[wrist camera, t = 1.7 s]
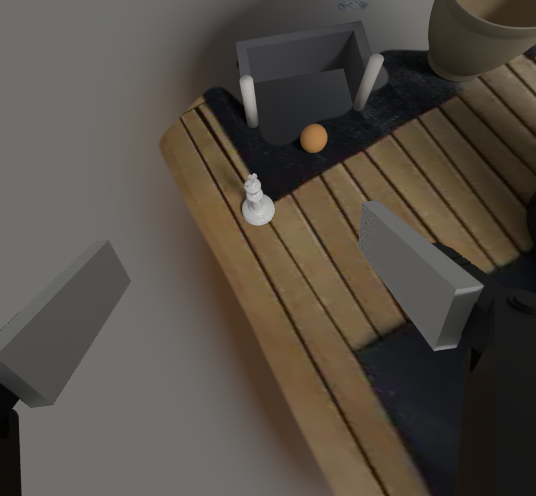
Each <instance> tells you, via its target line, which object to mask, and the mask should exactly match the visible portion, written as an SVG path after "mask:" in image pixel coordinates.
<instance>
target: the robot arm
mask: <svg viewBox="0 0 536 496" xmlns="http://www.w3.org/2000/svg"><path fill="white" fill-rule="evenodd" d="M528 225H529V229H530V233H531V235H532V237H533V239H534V241H535V243H536V193H535V194H534V195H533V197H532V199H531V201H530V204H529V207H528ZM359 249H360V250H361V252H362V253H363V255H364V256H365V257H366V259H367V260H368V261H369V263H370V264H371V265H372V267H373V268H374V270H375V271H376V272H377V274H378V275H379V276H380V278H381V279H382V280H383V282H384V283H385V285H386V286H387V287H388V289H389V290H390V291H391V293H392V294H393V296H394V297H395V298H396V300H397V301H398V302H399V304H400V305H401V306H402V308H403V309H404V311H405V312H406V313H407V315H408V316H409V317H410V319H411V320H412V321H413V323H414V324H415V326H416V327H417V328H418V330H419V331H420V332H421V334H422V335H423V336H424V338H425V339H426V341H427V342H428V343H429V345H430V346H431V347H432V349H433V350H434V351H435V350H442V349H449V348H456V347H457V345H458V343H459V340H460V338H461V336H463V337H464V338H465V339H466V341H467V342H468V343H469V344H470V347H469V349H468V351H467V353H466V355H465V357H464V359H463V362H462V364H461V366H463V367H465V366H466V374H465V386H464V398H463V410H462V422H461V434H460V445H459V457H458V469H457V481H456V493H455V496H536V294H535V293H532V292H529V291H526V290H522V289H515V288H505V287H503V286H502V285H501V284H499V283H498V282H497V281H495V280H494V279H493V278H491V277H490V276H489V275H487V274H486V273H485V272H483V271H482V270H481V269H479V268H478V267H477V266H475V265H474V264H471V262H470V261H468V260H467V259H466V258H463V257H462V255H460V254H459V253H458V252H456V251H455V250H454V249H452V248H450V247H448V246H445V245H443V244H441V243H438V242H437V243H430V242H429V241H428V240H426V239H425V238H424V237H423V236H421V235H420V234H419V233H418V232H416V231H415V230H414V229H413V228H411V227H410V226H409V225H408V224H406V223H405V222H404V221H403V220H401V219H400V218H399V217H398V216H396V215H395V214H394V213H393V212H391V211H390V210H389V209H388V208H386V207H385V206H384V205H383V204H381V203H380V202H379V201H378V200H375V201H368V202H362V212H361V225H360V237H359ZM130 282H131V280H130V278H129V276H128V275H127V273H126V271H125V269H124V267H123V266H122V264H121V262H120V260H119V258H118V256H117V255H116V253H115V251H114V249H113V248H112V246H111V244H110V242H109V240H106V241H99V242H94V243H93V244H91V245H90V247H88V248H87V249H86V250H85V251H84V252H83V253H82V254H81V255H80V256H79V257H78V258H77V259H76V260H75V261H74V262H72V263H71V264H70V266H68V267H67V268H66V269H65V270H64V271H63V272H62V273H61V274H60V275H59V276H58V277H57V278H56V279H54V280H53V281H52V282H51V283H50V284H49V285H48V286H47V287H46V288H45V289H44V290H43V291H42V292H41V293H40V294H39V295H37V297H35V298H34V299H33V300H32V301H31V302H30V303H29V304H28V305H27V306H26V307H25V308H24V309H23V310H22V311H21V312H19V313H18V314H17V315H16V316H15V317H14V318H13V319H12V320H11V321H10V322H8V324H7V325H6V326H4V327H3V328H2V329H1V330H0V496H22V495H21V469H20V444H19V443H20V442H19V416H18V414H17V412H16V411H15V410H14V409H12V408H13V407H14V405H15V404H16V403H17V401H18V400H19V399H20V400H21V401H23V402H24V403H25V404H27V405H28V406H29V407H30V408H35V407H42V406H49V405H53V404H54V403H55V401H56V399H57V398H58V396H59V395H60V393H61V392H62V390H63V388H64V386H65V385H66V384H67V382H68V380H69V379H70V377H71V376H72V374H73V373H74V371H75V369H76V368H77V366H78V365H79V363H80V361H81V360H82V358H83V357H84V355H85V354H86V352H87V350H88V349H89V347H90V346H91V344H92V343H93V341H94V339H95V338H96V336H97V335H98V333H99V331H100V330H101V328H102V327H103V325H104V323H105V322H106V320H107V319H108V317H109V316H110V314H111V312H112V311H113V309H114V308H115V306H116V304H117V303H118V301H119V300H120V298H121V297H122V295H123V294H124V292H125V290H126V289H127V287H128V285H129V284H130Z"/></svg>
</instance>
